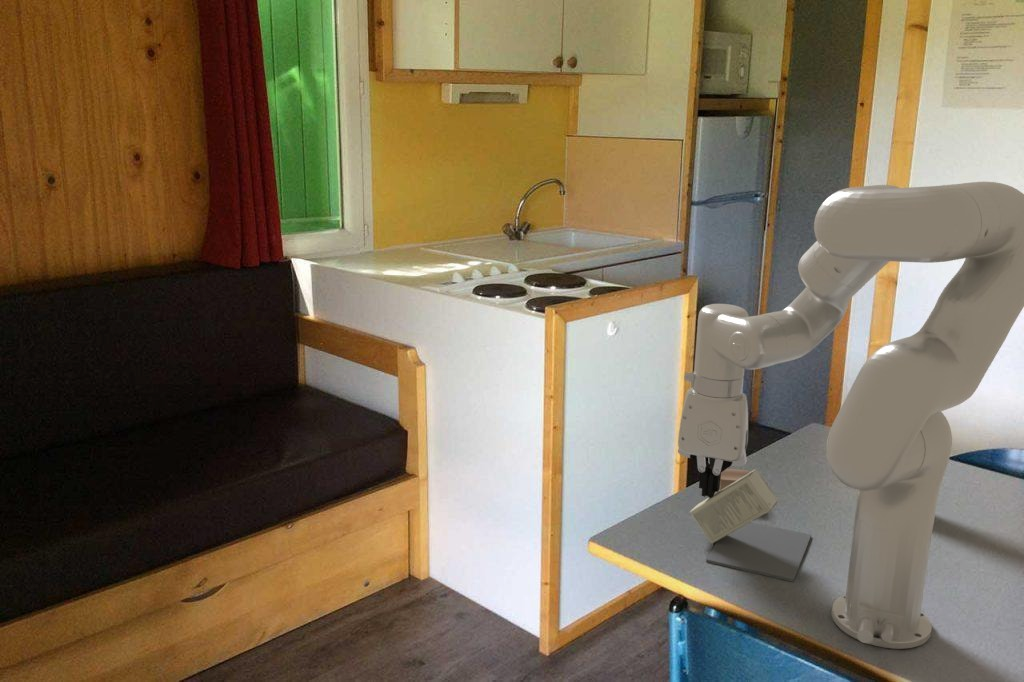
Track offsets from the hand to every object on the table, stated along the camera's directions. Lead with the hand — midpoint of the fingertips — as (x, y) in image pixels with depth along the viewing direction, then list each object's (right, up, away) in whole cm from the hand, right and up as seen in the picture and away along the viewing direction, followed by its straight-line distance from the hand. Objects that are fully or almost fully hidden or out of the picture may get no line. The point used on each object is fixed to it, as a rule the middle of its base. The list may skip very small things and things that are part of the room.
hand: (708, 493), depth 148 cm
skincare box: (-1, -5, +1) cm, 5 cm away
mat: (+8, -8, -2) cm, 12 cm away
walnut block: (+8, -4, +15) cm, 18 cm away
